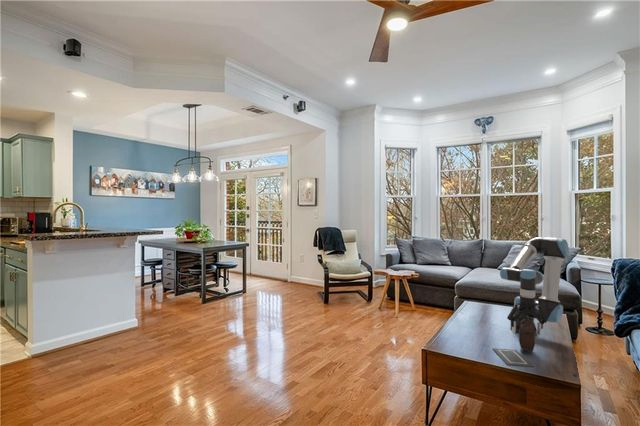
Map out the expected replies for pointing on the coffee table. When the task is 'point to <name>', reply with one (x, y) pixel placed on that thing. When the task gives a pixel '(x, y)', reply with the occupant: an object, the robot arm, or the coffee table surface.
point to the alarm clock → (527, 335)
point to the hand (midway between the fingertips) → (526, 333)
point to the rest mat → (512, 357)
